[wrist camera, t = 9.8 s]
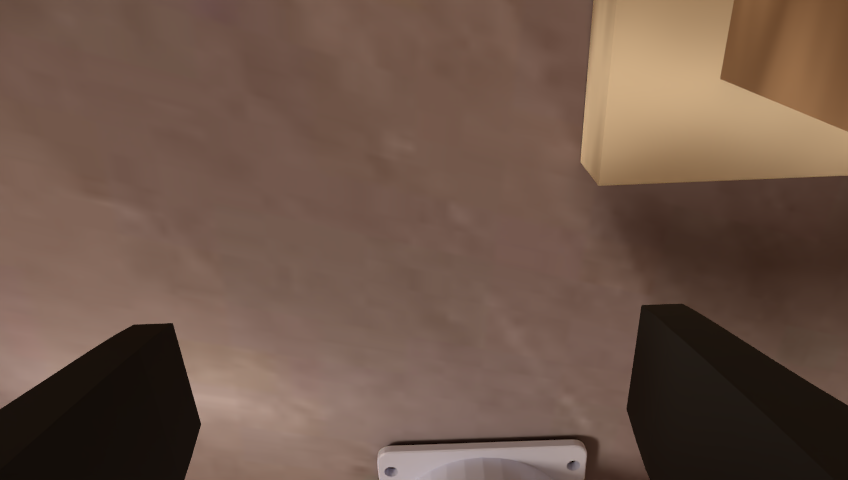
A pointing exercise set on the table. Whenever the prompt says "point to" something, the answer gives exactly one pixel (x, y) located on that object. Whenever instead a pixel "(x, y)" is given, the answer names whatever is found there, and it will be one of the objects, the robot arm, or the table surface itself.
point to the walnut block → (792, 54)
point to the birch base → (687, 104)
